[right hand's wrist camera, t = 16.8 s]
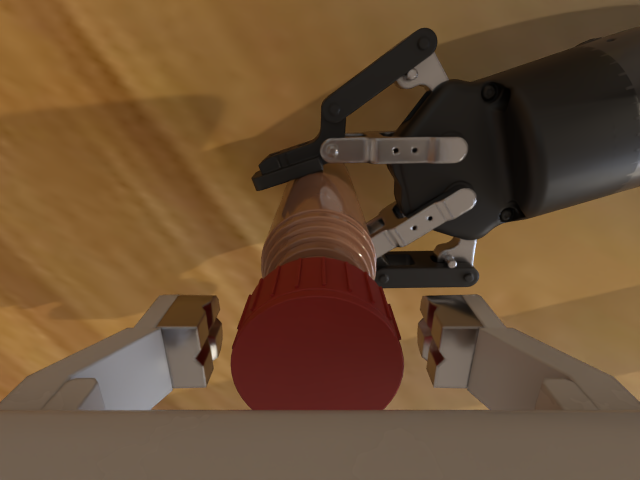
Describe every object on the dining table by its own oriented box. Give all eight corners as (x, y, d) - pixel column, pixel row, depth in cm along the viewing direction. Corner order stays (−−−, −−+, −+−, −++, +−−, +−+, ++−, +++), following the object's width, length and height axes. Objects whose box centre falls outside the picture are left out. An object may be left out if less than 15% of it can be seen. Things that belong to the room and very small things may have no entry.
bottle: (319, 138, 25) (315, 238, 8) (362, 181, 26) (442, 353, 9) (278, 182, 26) (193, 355, 9) (320, 221, 27) (319, 443, 10)
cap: (287, 395, 11) (280, 454, 9) (217, 290, 10) (192, 336, 8) (411, 349, 10) (430, 403, 9) (355, 229, 9) (363, 264, 7)
